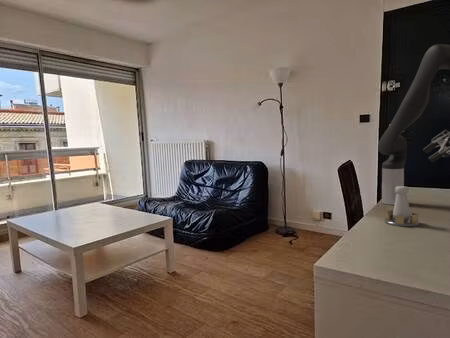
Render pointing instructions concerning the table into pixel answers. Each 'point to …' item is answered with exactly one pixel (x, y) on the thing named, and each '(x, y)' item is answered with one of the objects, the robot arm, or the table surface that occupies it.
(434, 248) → the table surface
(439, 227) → the table surface
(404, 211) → the salt shaker
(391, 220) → the disc with wooden blocks
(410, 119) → the robot arm
